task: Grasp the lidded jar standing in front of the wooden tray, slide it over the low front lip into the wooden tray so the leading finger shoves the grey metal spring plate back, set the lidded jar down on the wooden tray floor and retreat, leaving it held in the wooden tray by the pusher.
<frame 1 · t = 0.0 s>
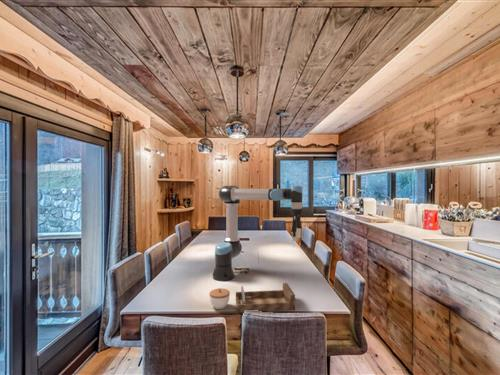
hand: (296, 239, 177), 28 cm above the table, fingers open, 13 cm apart
lidded jar: (219, 306, 139), on the table
pusher: (246, 297, 141), point 4 cm above the table, slide at 0.0 cm
wooden tray: (263, 304, 142), on the table
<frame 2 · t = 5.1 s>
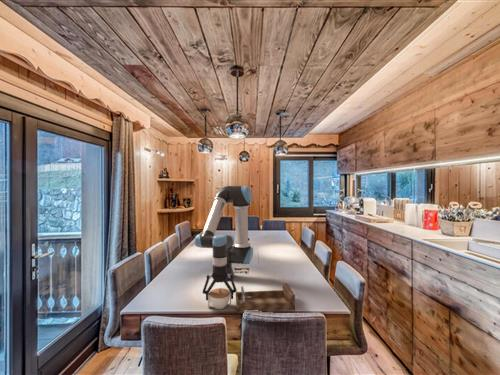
hand: (219, 305, 139), 0 cm above the table, fingers closed on lidded jar, 11 cm apart
lidded jar: (219, 306, 139), on the table, touching gripper
everything else where it was.
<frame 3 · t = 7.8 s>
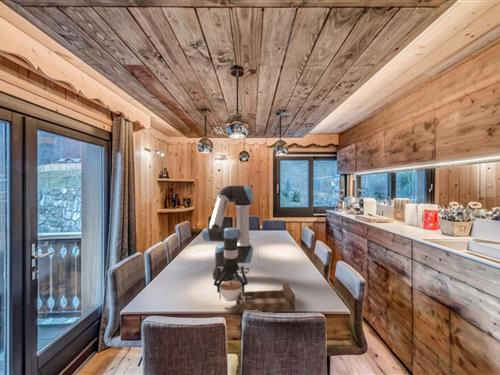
hand: (230, 297, 140), 4 cm above the table, fingers closed on lidded jar, 11 cm apart
lidded jar: (230, 299, 140), point 4 cm above the table, touching gripper
pusher: (246, 297, 141), point 4 cm above the table, slide at 0.0 cm, touching gripper
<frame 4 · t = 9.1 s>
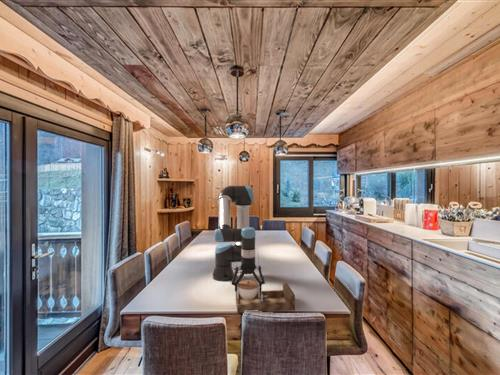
hand: (248, 297, 141), 4 cm above the table, fingers closed on lidded jar, 11 cm apart
lidded jar: (248, 298, 141), point 4 cm above the table, touching gripper
pusher: (263, 296, 142), point 4 cm above the table, slide at 9.4 cm, touching gripper
when the fingers open (4 cm above the table, at t = 10.7 s): lidded jar drops 3 cm, resting on wooden tray, pusher.
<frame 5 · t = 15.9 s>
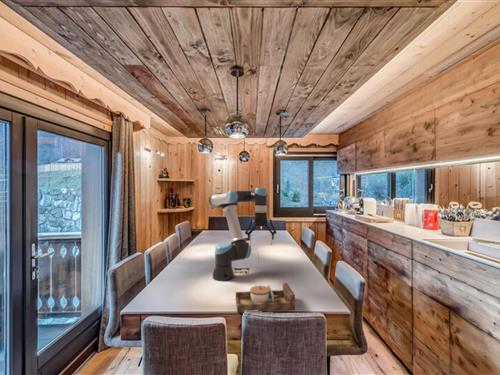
hand: (260, 244, 166), 27 cm above the table, fingers open, 13 cm apart
lidded jar: (260, 303, 141), resting on wooden tray, pusher
pusher: (274, 296, 142), point 4 cm above the table, slide at 15.2 cm, touching lidded jar
at the end: lidded jar inside the target area on the wooden tray (3.0 cm from its centre), point 0.4 cm above the wooden tray's base; lidded jar tilted 0°; the gripper is holding nothing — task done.
